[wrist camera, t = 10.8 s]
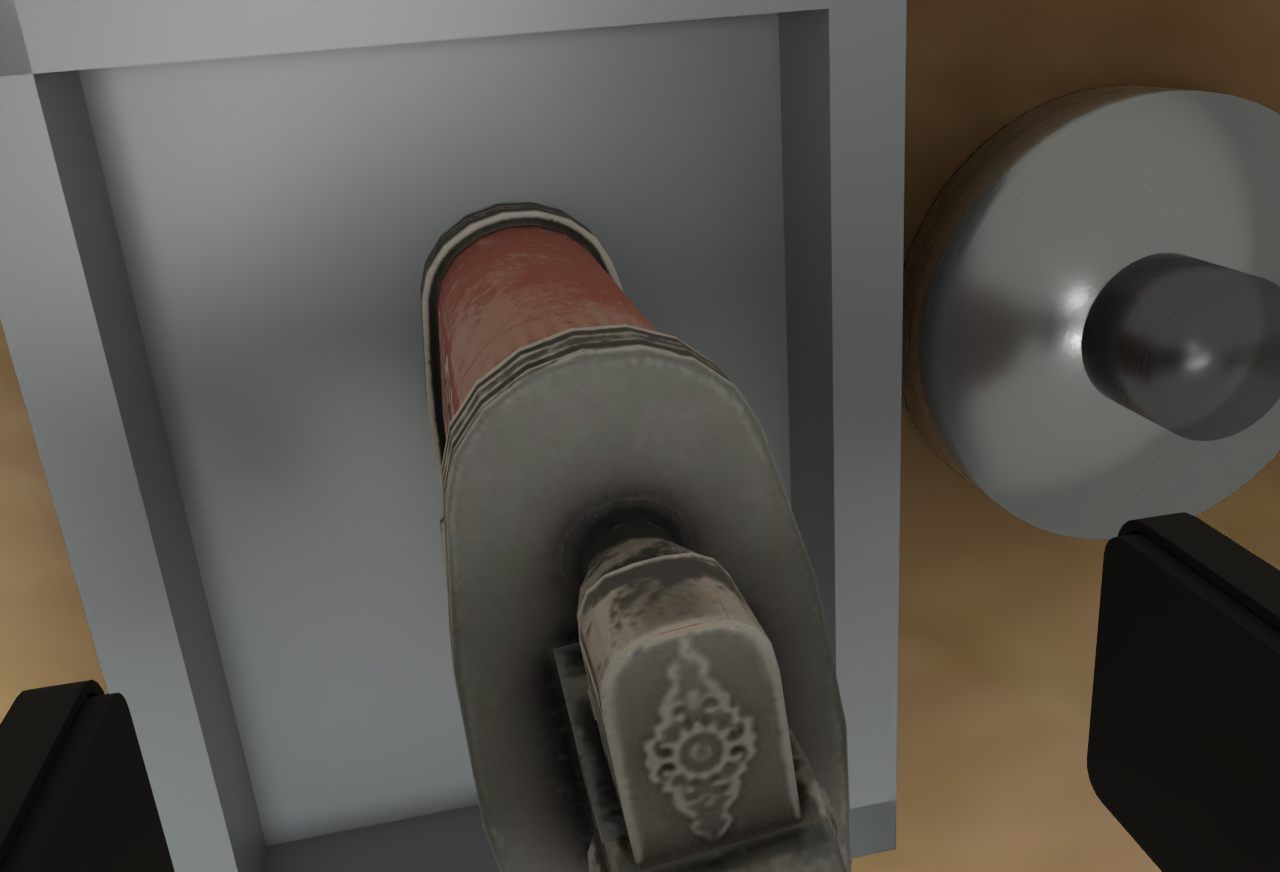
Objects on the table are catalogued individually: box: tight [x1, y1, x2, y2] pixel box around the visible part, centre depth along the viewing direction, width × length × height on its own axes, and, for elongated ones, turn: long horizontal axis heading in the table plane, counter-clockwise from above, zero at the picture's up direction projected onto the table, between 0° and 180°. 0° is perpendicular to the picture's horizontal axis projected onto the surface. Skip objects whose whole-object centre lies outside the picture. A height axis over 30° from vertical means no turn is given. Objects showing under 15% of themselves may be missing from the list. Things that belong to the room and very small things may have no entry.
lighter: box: [420, 201, 852, 872], centre depth 12 cm, size 8×3×10 cm, turn 9°
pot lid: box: [902, 85, 1280, 540], centre depth 17 cm, size 7×7×3 cm
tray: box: [0, 0, 907, 872], centre depth 16 cm, size 11×14×2 cm
